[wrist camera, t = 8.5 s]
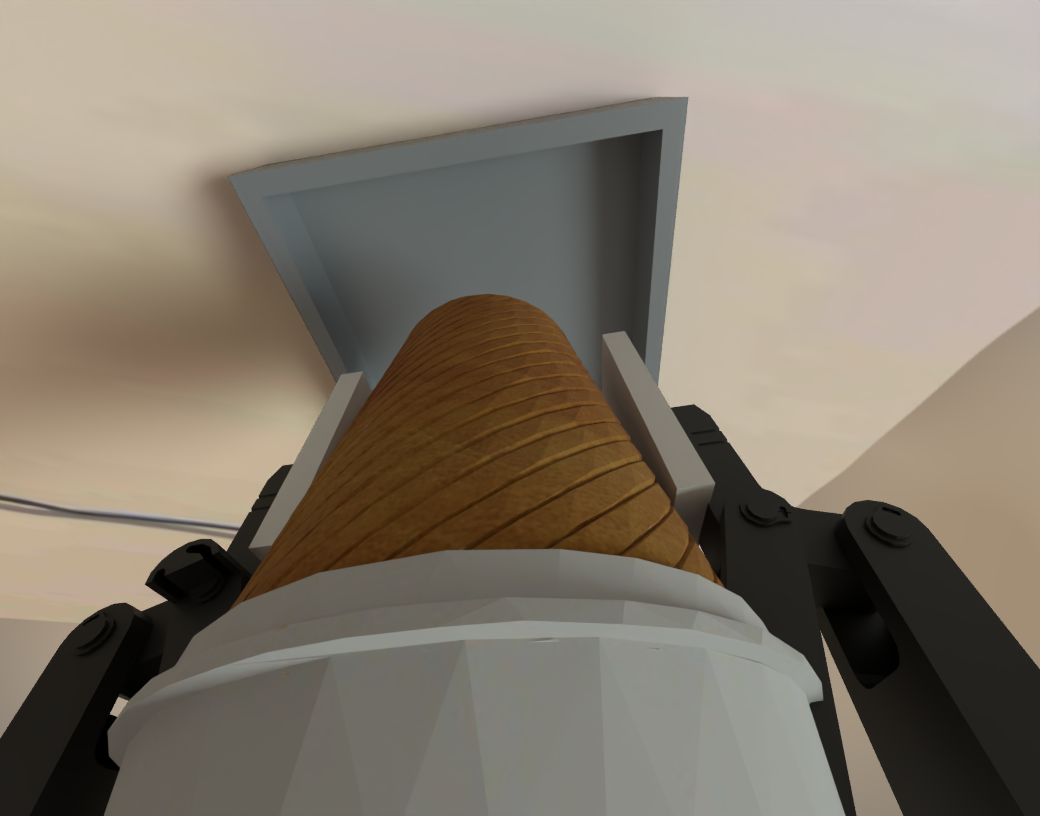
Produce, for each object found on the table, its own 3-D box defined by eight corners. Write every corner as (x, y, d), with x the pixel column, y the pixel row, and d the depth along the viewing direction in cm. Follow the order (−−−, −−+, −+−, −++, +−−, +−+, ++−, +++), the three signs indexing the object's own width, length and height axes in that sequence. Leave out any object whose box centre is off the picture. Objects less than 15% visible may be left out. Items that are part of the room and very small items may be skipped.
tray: (264, 165, 16) (227, 176, 14) (658, 97, 16) (688, 97, 14) (417, 491, 30) (411, 525, 28) (634, 460, 29) (646, 492, 27)
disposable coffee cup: (408, 480, 18) (318, 916, 8) (299, 273, 12) (-466, 976, 2) (619, 445, 17) (780, 867, 8) (615, 209, 11) (1283, 781, 2)
